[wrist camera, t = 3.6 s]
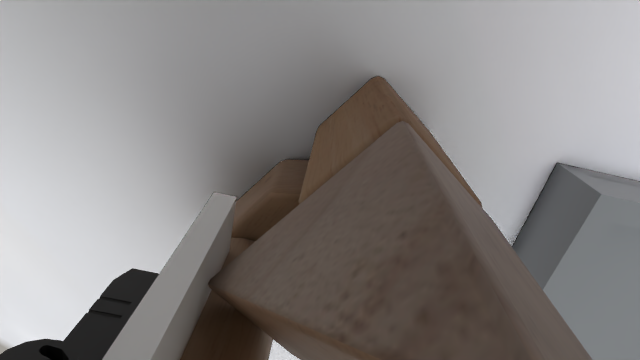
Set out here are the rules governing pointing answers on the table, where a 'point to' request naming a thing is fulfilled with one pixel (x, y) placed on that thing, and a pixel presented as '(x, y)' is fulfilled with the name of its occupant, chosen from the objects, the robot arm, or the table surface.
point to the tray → (588, 257)
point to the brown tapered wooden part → (374, 257)
